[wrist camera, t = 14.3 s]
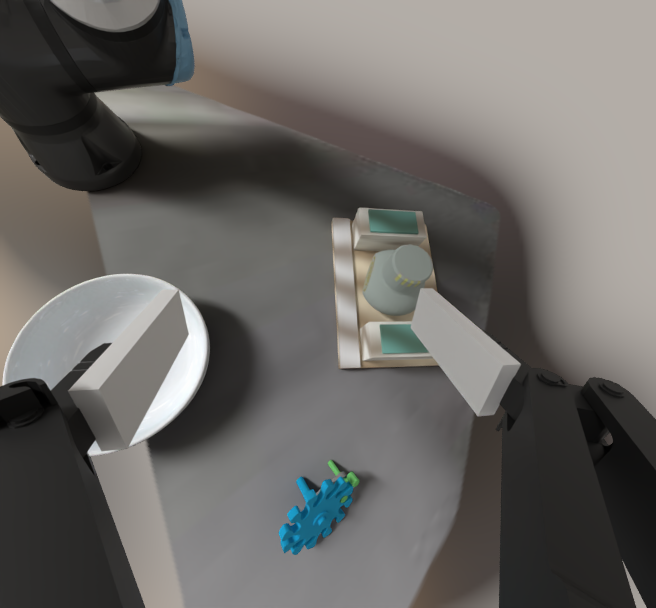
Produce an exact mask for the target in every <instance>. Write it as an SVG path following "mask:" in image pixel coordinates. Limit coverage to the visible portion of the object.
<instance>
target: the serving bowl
mask: <svg viewBox="0 0 656 608" xmlns="http://www.w3.org/2000/svg"><path fill="white" fill-rule="evenodd" d="M161 290H179V293H180V297H181V302H182V306H183V310H184V315H185V319H186V324H187V328H188V333H189V335H188V337H187V339H186V341H185V343H184V345H183V346H182V348H181V350H180V352H179V354H178V356H177V358H176V359H175V361H174V363H173V365H172V367H171V369H170V371H169V372H168V374H167V376H166V378H165V380H164V382H163V384H162V385H161V387H160V389H159V391H158V393H157V395H156V397H155V398H154V400H153V402H152V404H151V406H150V408H149V410H148V411H147V413H146V415H145V417H144V419H143V421H142V423H141V424H140V426H139V428H138V430H137V432H136V434H135V436H134V437H133V439H132V441H131V443H130V445H129V447H131V446H134V445H136V444H138V443H140V442H142V441H144V440H146V439H148V438H150V437H151V436H153V435H155V434H156V433H158V432H159V431H160V430H162V429H163V428H164V427H166V426H167V425H168V424H170V423H171V422H172V421H173V420H174V419H175V418H176V417H177V416H178V415H179V414H180V413H181V412H182V411H183V410H184V409H185V408H186V407H187V406H188V404H189V403H190V402H191V400H192V399H193V398H194V396H195V395H196V393H197V391H198V390H199V388H200V386H201V384H202V382H203V379H204V377H205V374H206V371H207V367H208V363H209V355H210V341H209V334H208V330H207V327H206V324H205V321H204V319H203V317H202V315H201V313H200V311H199V309H198V308H197V306H196V305H195V304H194V303H193V301H192V300H191V299H190V298H189V297H188V296H187V295H186V294H185V293H183V292H182V291H181V290H180V289H178V288H177V287H175V286H174V285H172V284H170V283H168V282H166V281H163V280H161V279H158V278H155V277H151V276H146V275H139V274H115V275H108V276H103V277H99V278H95V279H92V280H88V281H85V282H83V283H80V284H78V285H76V286H74V287H72V288H70V289H68V290H66V291H64V292H62V293H61V294H59V295H58V296H56V297H55V298H53V299H52V300H50V301H49V302H48V303H46V304H45V305H44V306H43V307H42V308H40V309H39V310H38V311H37V312H36V313H35V314H34V315H33V316H32V317H31V319H30V320H29V321H28V322H27V323H26V324H25V326H24V327H23V328H22V330H21V331H20V333H19V334H18V336H17V338H16V339H15V341H14V343H13V345H12V348H11V349H10V352H9V354H8V357H7V360H6V364H5V368H4V374H3V385H5V384H8V383H11V382H14V381H18V380H21V379H28V378H38V379H42V380H43V381H44V382H45V383H46V384H47V386H48V387H49V389H50V391H51V390H52V389H53V388H54V387H55V386H56V385H57V384H58V383H59V382H60V381H61V380H62V379H63V378H64V377H65V376H66V375H67V374H68V373H69V372H70V371H72V369H73V368H74V367H75V366H76V365H77V364H78V363H80V361H81V360H82V359H83V358H84V357H85V356H86V355H87V354H88V353H89V352H90V351H92V350H93V349H95V348H97V347H98V346H100V345H102V344H104V343H113V342H114V341H115V340H116V339H117V338H118V337H119V335H120V334H121V333H122V332H123V331H124V330H125V329H126V328H127V327H128V326H129V325H130V324H131V323H132V322H133V320H134V319H135V318H136V317H137V316H138V315H139V314H140V313H141V312H142V311H143V310H144V309H145V308H146V306H147V305H148V304H149V303H150V302H151V301H152V300H153V299H154V298H155V297H156V296H157V295H158V294H159V293H160V291H161ZM129 447H128V448H129ZM121 450H123V449H121ZM117 451H120V450H111V451H101V450H100V448H99V446H98V444H97V442H96V441H94V443H93V444H92V446H91V447H90V449H89V450H88V454H89V456H96V455H104V454H109V453H113V452H117Z"/></svg>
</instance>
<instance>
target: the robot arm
mask: <svg viewBox="0 0 656 608" xmlns="http://www.w3.org/2000/svg"><path fill="white" fill-rule="evenodd" d="M193 74H194V55H193V48H192V42H191V38H190V35H189V32H188V24H187V19H186V15H185V10H184V7H183V3H182V0H0V117H1V118H2V119H3V120H4V121H5V122H6V123H7V124H8V125H10V126H11V127H12V129H13V130H14V132H15V134H16V135H17V137H18V139H19V140H20V142H21V144H22V145H23V147H24V148H25V150H26V151H27V152H28V154H29V157H30V158H31V160H32V162H33V163H34V164H35V165H36V167H38V169H39V170H40V171H41V172H43V173H44V174H45V175H46V176H47V177H48V178H50V179H51V180H52V181H53V182H55V183H56V184H58V185H60V186H62V187H65V188H68V189H72V190H79V191H95V190H101V189H106V188H109V187H112V186H114V185H117V184H119V183H121V182H122V181H124V180H125V179H127V178H128V177H129V176H130V175H131V174H132V173H133V172H134V171H135V170H136V168H137V167H138V165H139V163H140V160H141V147H140V144H139V142H138V140H137V138H136V137H135V135H134V133H133V132H132V130H131V129H130V127H129V126H128V125H127V124H126V123H125V122H124V121H123V120H122V119H121V118H119V117H118V116H116V115H115V114H114V113H113V112H112V111H111V110H110V109H109V108H108V107H107V106H106V105H105V104H104V103H103V102H102V101H101V100H100V99H99V98H98V97H97V96H96V95H95V93H94V92H103V91H112V90H121V89H130V88H139V87H148V86H159V85H166V86H172V85H174V84H175V83H179V82H185V81H188V80H190V79H191V78H192V76H193ZM411 329H412V330H413V332H414V333H415V334H416V336H417V337H418V338H419V340H420V341H421V342H422V344H423V345H424V346H425V347H426V349H427V350H428V351H429V353H430V354H431V355H432V357H433V358H434V359H435V361H436V362H437V363H438V365H439V366H440V367H441V369H442V370H443V371H444V372H445V374H446V375H447V376H448V378H449V379H450V380H451V382H452V383H453V384H454V386H455V387H456V388H457V390H458V391H459V392H460V393H461V395H462V396H463V397H464V399H465V400H466V401H467V403H468V404H469V405H470V407H471V408H472V409H473V411H474V412H475V413H476V414H477V416H485V415H494V414H495V412H496V410H497V408H498V407H499V405H501V406H502V407H503V408H504V409H505V410H506V412H505V414H504V416H503V417H502V419H501V421H500V423H499V425H498V426H497V429H496V430H497V431H499V430H500V428H503V431H502V482H501V535H500V587H499V589H500V590H499V608H636V605H635V602H634V599H633V595H632V592H631V589H630V585H629V582H628V579H627V575H626V572H625V569H624V565H623V562H624V564H625V566H626V568H627V570H628V572H629V574H630V576H631V577H632V579H633V581H634V583H635V585H636V587H637V589H638V591H639V593H640V595H641V597H642V599H643V601H644V603H645V605H646V607H647V608H656V419H655V418H654V417H653V416H652V415H651V414H650V413H649V412H648V411H647V410H646V409H645V407H644V406H643V405H642V404H641V403H640V402H639V401H638V400H637V399H636V398H635V397H634V396H633V395H632V394H631V393H630V392H629V391H627V390H626V389H624V388H623V387H621V386H620V385H619V384H617V383H613V382H612V381H609V380H605V379H602V378H595V377H594V378H589V380H588V381H587V382H586V384H585V385H584V387H582V386H577V385H571V384H568V383H567V382H566V381H565V380H564V379H563V378H562V377H560V376H558V375H557V374H555V373H553V372H550V371H548V370H544V369H541V368H531V367H530V366H529V365H528V364H526V363H525V362H524V361H523V360H522V359H520V358H519V357H518V356H517V355H516V354H514V353H513V352H512V351H511V350H510V349H508V348H507V347H506V346H505V345H504V344H501V342H500V341H499V340H498V339H496V338H495V337H494V336H493V335H491V334H489V333H487V332H486V331H484V330H481V329H479V328H478V327H477V326H476V325H475V324H474V323H472V322H471V321H470V320H469V319H468V318H467V317H465V316H464V315H463V314H462V313H461V312H460V311H458V310H457V309H456V308H455V307H454V306H453V305H451V304H450V303H449V302H448V301H447V300H446V299H444V298H443V297H442V296H441V295H440V294H439V293H437V292H436V291H435V290H434V289H433V288H421V289H420V293H419V296H418V300H417V304H416V308H415V312H414V316H413V320H412V324H411ZM188 335H189V333H188V328H187V324H186V319H185V315H184V310H183V306H182V302H181V297H180V293H179V290H161V291H160V293H159V294H158V295H157V296H156V297H155V298H154V299H153V300H152V301H151V302H150V303H149V304H148V305H147V306H146V308H145V309H144V310H143V311H142V312H141V313H140V314H139V315H138V316H137V317H136V318H135V319H134V320H133V322H132V323H131V324H130V325H129V326H128V327H127V328H126V329H125V330H124V331H123V332H122V333H121V334H120V335H119V337H118V338H117V339H116V340H115V341H114V342H113V343H104V344H102V345H100V346H98V347H97V348H95V349H93V350H92V351H90V352H89V353H88V354H87V355H86V356H85V357H84V358H83V359H82V360H81V361H80V363H78V364H77V365H76V366H75V367H74V368H73V369H72V371H70V372H69V373H68V374H67V375H66V376H65V377H64V378H63V379H62V380H61V381H60V382H59V383H58V384H57V385H56V386H55V387H54V388H53V389H52V390H51V391H50V389H49V387H48V386H47V384H46V383H45V382H44V381H43V380H42V379H38V378H28V379H21V380H18V381H14V382H11V383H8V384H5V385H3V386H1V387H0V608H145V605H144V603H143V600H142V597H141V594H140V592H139V589H138V587H137V583H136V581H135V578H134V575H133V573H132V570H131V567H130V564H129V562H128V559H127V556H126V553H125V550H124V548H123V545H122V542H121V539H120V537H119V534H118V531H117V529H116V526H115V523H114V520H113V518H112V515H111V512H110V509H109V506H108V504H107V501H106V498H105V495H104V493H103V490H102V487H101V485H100V482H99V479H98V476H97V473H96V471H95V468H94V465H93V462H92V460H91V457H90V456H89V454H88V450H89V449H90V447H91V446H92V444H93V443H94V441H96V442H97V444H98V446H99V448H100V450H101V451H111V450H121V449H127V448H128V447H129V445H130V443H131V441H132V439H133V437H134V436H135V434H136V432H137V430H138V428H139V426H140V424H141V423H142V421H143V419H144V417H145V415H146V413H147V411H148V410H149V408H150V406H151V404H152V402H153V400H154V398H155V397H156V395H157V393H158V391H159V389H160V387H161V385H162V384H163V382H164V380H165V378H166V376H167V374H168V372H169V371H170V369H171V367H172V365H173V363H174V361H175V359H176V358H177V356H178V354H179V352H180V350H181V348H182V346H183V345H184V343H185V341H186V339H187V337H188ZM609 432H610V433H611V435H612V438H613V443H612V444H611V445H608V444H607V443H606V441H605V440H604V438H605V437H606V436H607V435H608V433H609ZM622 560H623V562H622Z"/></svg>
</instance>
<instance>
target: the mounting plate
mask: <svg viewBox="0 0 656 608" xmlns="http://www.w3.org/2000/svg"><path fill="white" fill-rule="evenodd" d="M332 242H333V261H334V281H335V301H336V320H337V340H338V360H339V369H348V368H378V367H409V366H439V365H438V363H437V362H436V361H435V359H434V358H433V357H432V355H431V354H430V353H429V351H428V350H427V349H426V347H425V346H424V345H423V344H422V342H421V341H420V340H419V338H418V337H417V336H416V334H415V333H414V332H413V330H412V329H411V324H412V320H413V316H414V312H415V310H414V311H413V312H411V313H408V314H406V315H401V316H392V315H387V314H384V313H381V312H379V311H377V310H376V309H374V308H373V307H372V306H371V305H370V304H369V303H368V302H367V300H366V299H365V297H364V296H363V287H364V282H365V279H366V275H367V272H368V269H369V266H370V263H371V261H372V258H373V256H374V255H375V254H376V253H378V252H380V251H384V250H396V249H397V248H399V247H400V246H402V245H408V244H412V245H416V246H418V247H420V248H422V249H423V250H424V251H425V252H427V253H428V255H429V256H430V258H431V260H432V257H431V251H430V246H429V240H428V234H427V228H426V225H424V219H423V213H422V212H421V211H405V210H389V209H373V208H359V209H358V211H357V214H356V216H355V219H354V221H350V219H349V218H333V219H332ZM424 288H433V289H434V290H435V291H436V292H437V286H436V280H435V275H434V269H433V271H432V274H431V276H430V278H429V279H428V280H427V281H425V286H424ZM437 293H438V292H437Z"/></svg>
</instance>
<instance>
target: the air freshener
mask: <svg viewBox="0 0 656 608" xmlns="http://www.w3.org/2000/svg"><path fill="white" fill-rule="evenodd" d="M432 271H433V263H432V260H431V258H430V256H429V255H428V253H427V252H425V251H424V250H423V249H422V248H420V247H418V246H416V245H412V244H408V245H402V246H400V247H399V248H397V249H396V250H384V251H380V252H378V253H376V254H375V255H374V256H373V258H372V261H371V263H370V266H369V269H368V272H367V275H366V279H365V282H364V287H363V296H364V297H365V299H366V300H367V302H368V303H369V304H370V305H371V306H372V307H373V308H374V309H376V310H377V311H379V312H381V313H384V314H387V315H392V316H401V315H406V314H408V313H411V312H413V311H414V310H415V308H416V304H417V300H418V296H419V293H420V289H421V288H424V286H425V281H427V280H428V279H429V278H430V276H431V274H432Z"/></svg>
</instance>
